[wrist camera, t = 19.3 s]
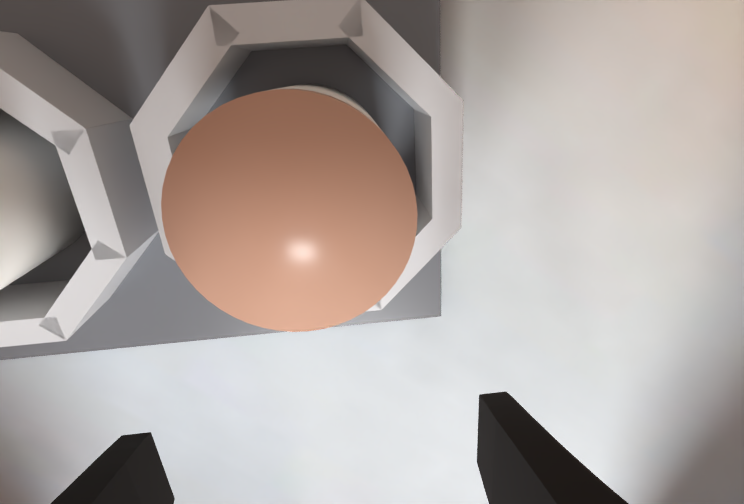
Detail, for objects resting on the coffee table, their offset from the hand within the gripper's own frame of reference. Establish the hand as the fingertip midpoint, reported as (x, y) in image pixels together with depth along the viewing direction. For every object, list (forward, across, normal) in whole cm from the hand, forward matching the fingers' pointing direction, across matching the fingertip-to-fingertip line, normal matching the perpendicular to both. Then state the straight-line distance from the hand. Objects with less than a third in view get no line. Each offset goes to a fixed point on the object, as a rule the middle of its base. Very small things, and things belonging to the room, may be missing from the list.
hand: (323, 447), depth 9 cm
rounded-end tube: (+6, 0, -5) cm, 8 cm away
